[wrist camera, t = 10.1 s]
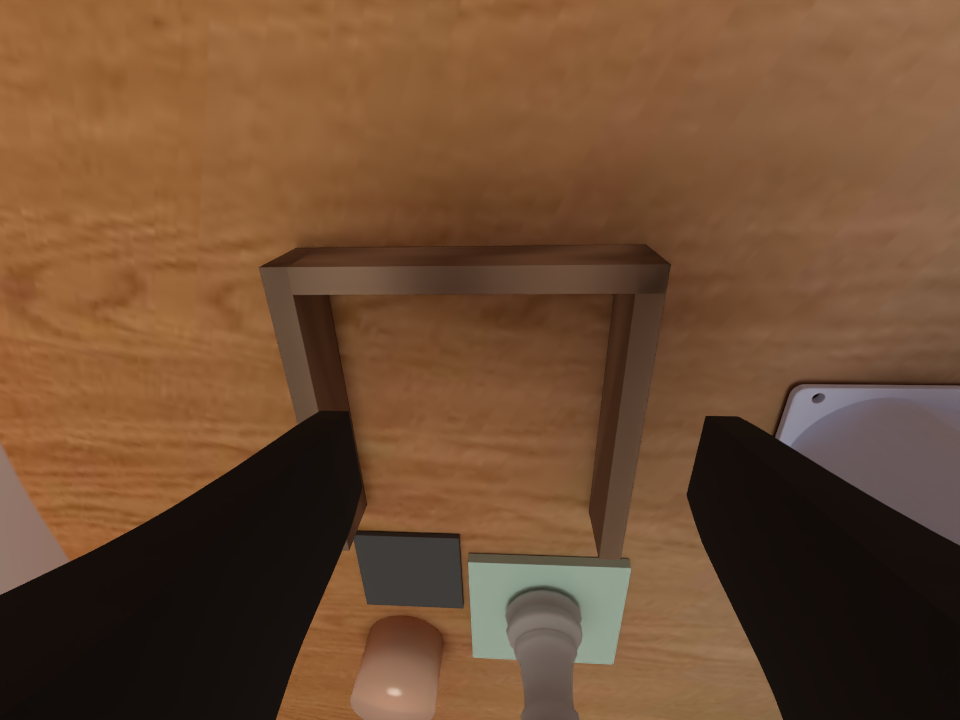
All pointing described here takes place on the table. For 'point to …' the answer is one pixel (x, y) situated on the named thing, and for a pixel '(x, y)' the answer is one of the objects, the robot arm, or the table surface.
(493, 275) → the cubby
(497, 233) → the table surface
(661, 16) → the table surface
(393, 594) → the dark gray tile
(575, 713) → the rook chess piece
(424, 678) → the peach short cylinder
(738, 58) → the table surface
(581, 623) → the coaster
